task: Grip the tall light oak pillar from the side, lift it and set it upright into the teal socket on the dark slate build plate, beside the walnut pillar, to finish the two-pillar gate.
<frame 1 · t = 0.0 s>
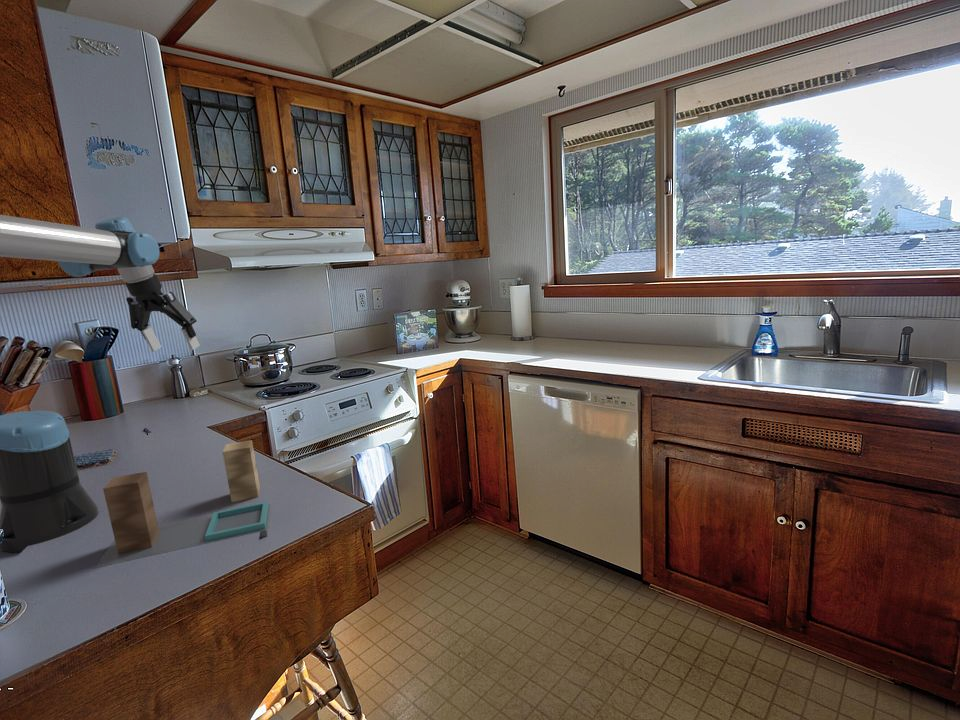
hand: (176, 348, 143), 28 cm above the table, tool tilted 20°, fingers open, 13 cm apart
walnut pillar: (139, 543, 89), resting on build plate
build plate: (192, 539, 91), on the table
woven mat: (92, 464, 138), on the table
chef's knife: (149, 437, 158), on the table
oak pillar: (247, 500, 106), on the table
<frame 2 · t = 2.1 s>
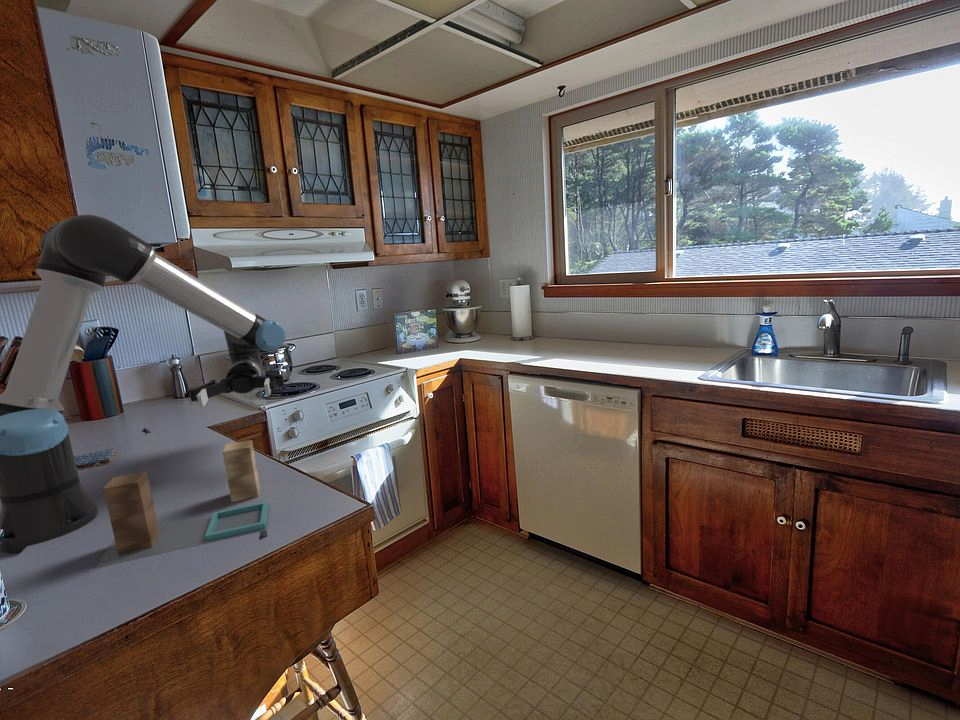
hand: (234, 395, 112), 20 cm above the table, tool horizontal, fingers open, 13 cm apart
nothing on the table moved.
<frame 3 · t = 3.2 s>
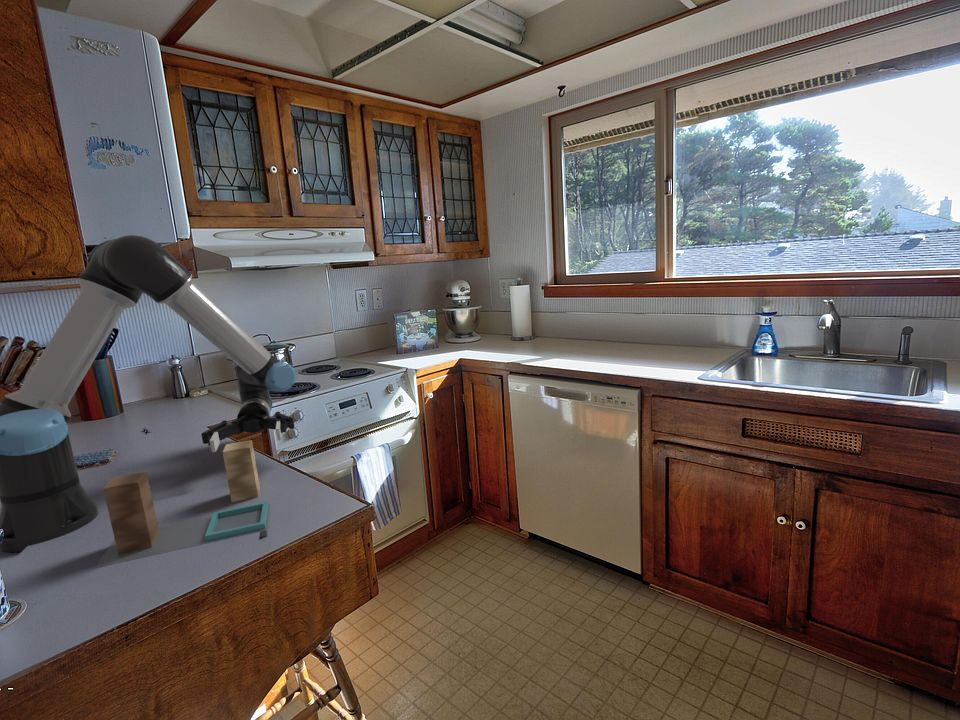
hand: (246, 440, 114), 10 cm above the table, tool horizontal, fingers open, 13 cm apart
nothing on the table moved.
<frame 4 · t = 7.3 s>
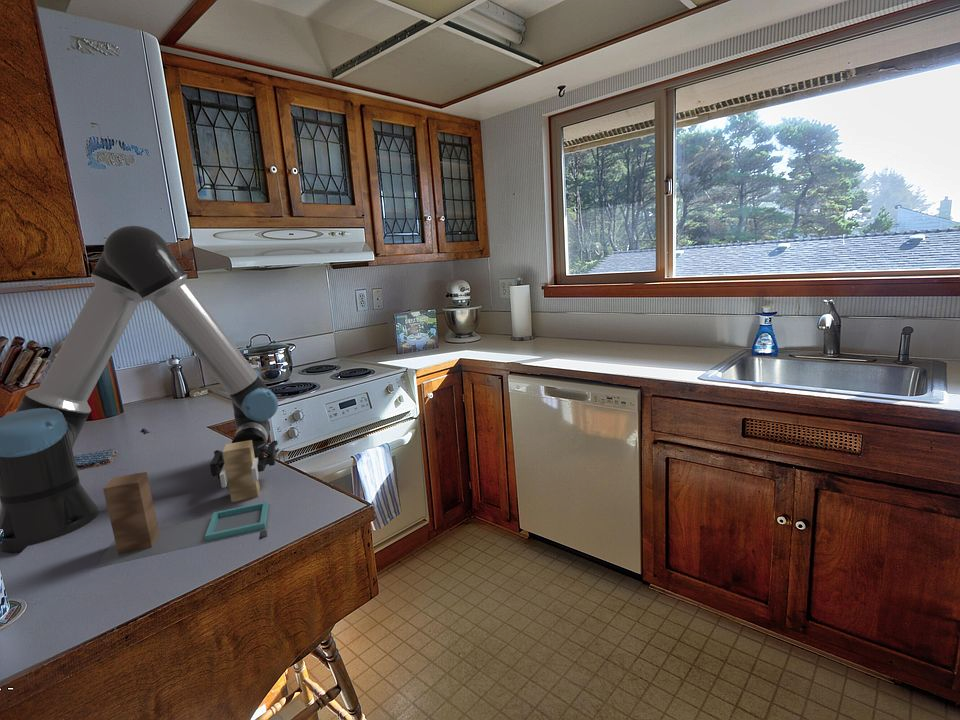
hand: (238, 477, 100), 7 cm above the table, tool horizontal, fingers closed on oak pillar, 5 cm apart
oak pillar: (247, 500, 106), on the table, touching gripper
everything else where it was.
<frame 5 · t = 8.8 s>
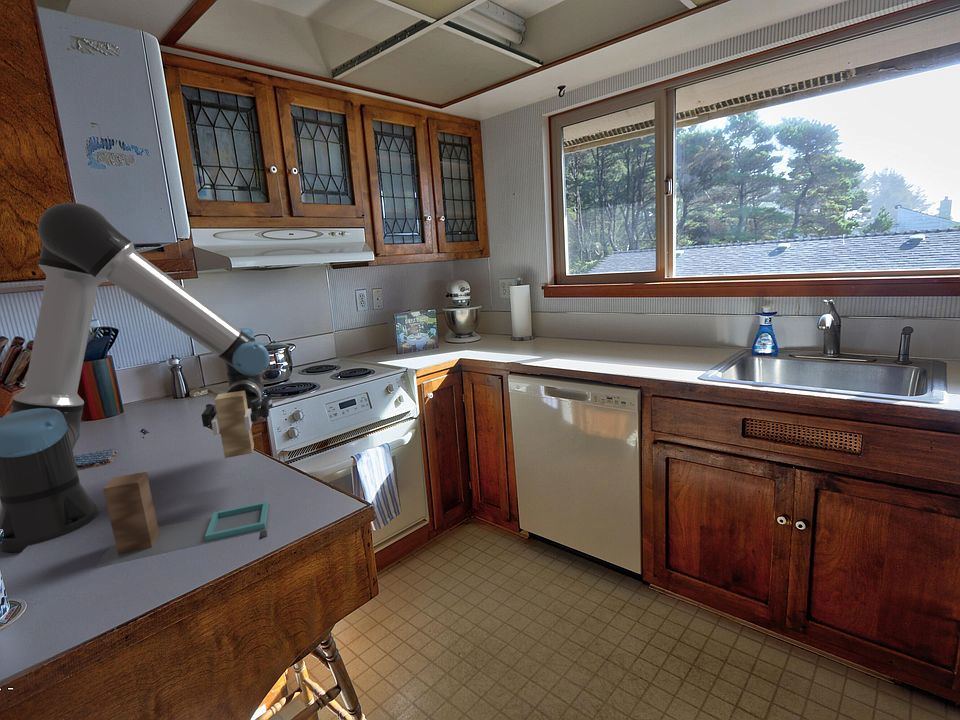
hand: (231, 425, 97), 18 cm above the table, tool horizontal, fingers closed on oak pillar, 5 cm apart
oak pillar: (239, 451, 104), point 11 cm above the table, touching gripper
everything else where it was.
when the fingers open (10 cm above the table, at t = 11.7 s): oak pillar drops 1 cm, resting on build plate.
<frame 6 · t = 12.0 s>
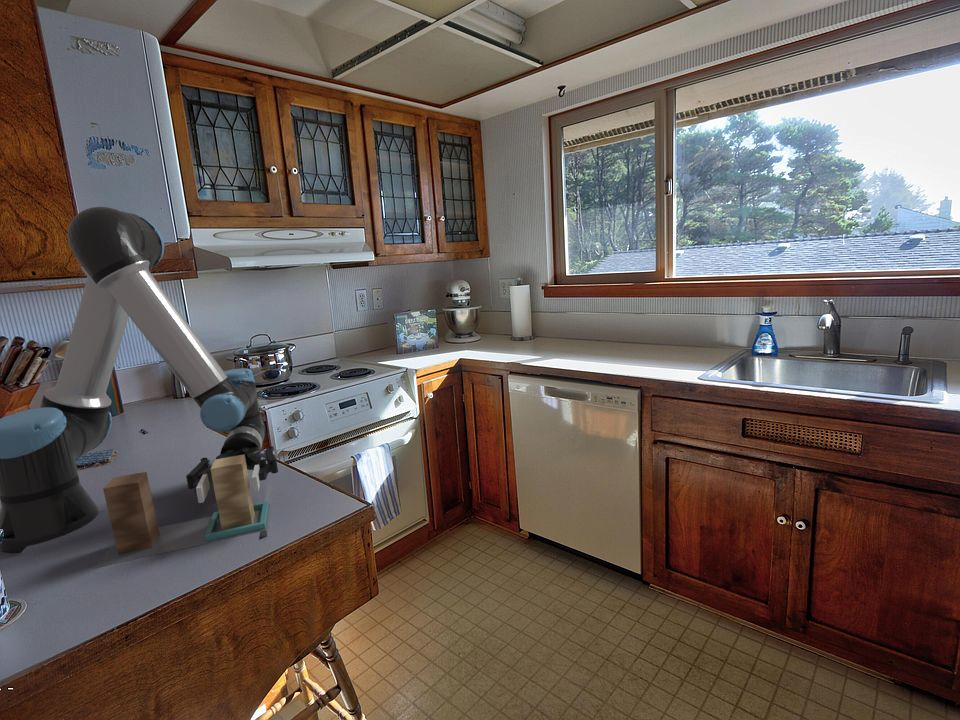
hand: (227, 489, 88), 10 cm above the table, tool horizontal, fingers open, 8 cm apart
oak pillar: (239, 522, 94), point 1 cm above the table, touching build plate
everything else where it was.
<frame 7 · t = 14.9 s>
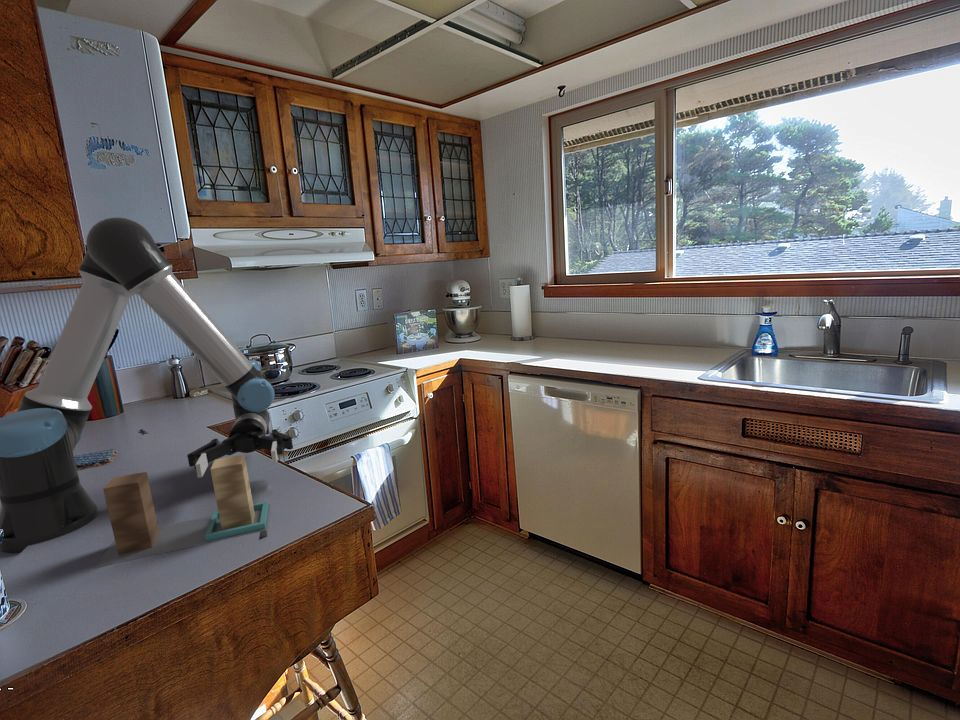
hand: (237, 464, 100), 10 cm above the table, tool horizontal, fingers open, 13 cm apart
nothing on the table moved.
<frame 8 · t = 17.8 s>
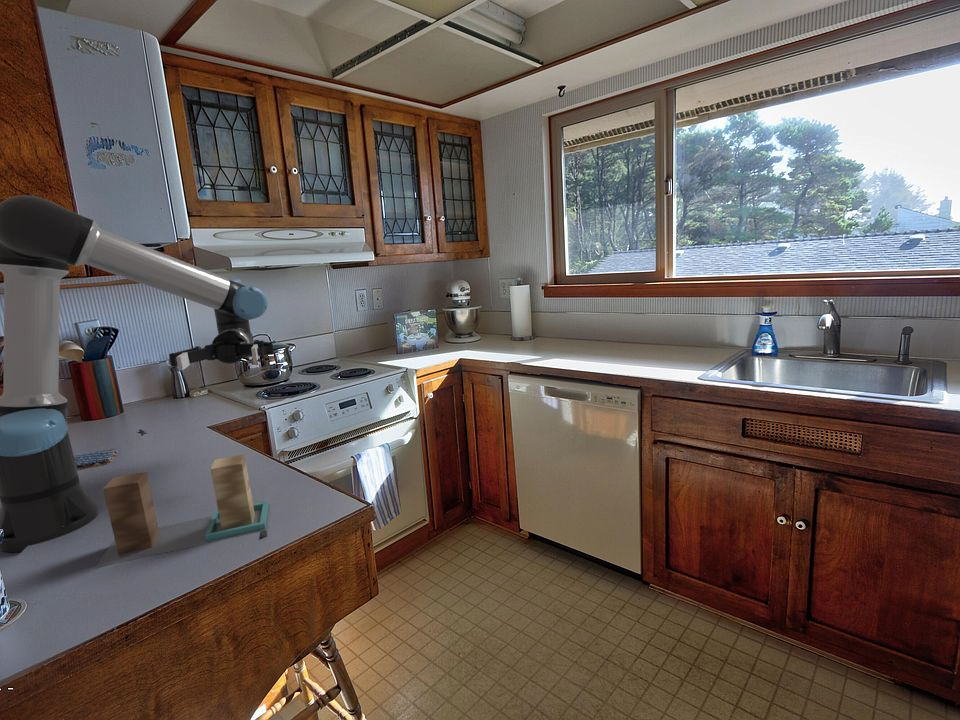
hand: (217, 359, 102), 30 cm above the table, tool horizontal, fingers open, 13 cm apart
at the end: oak pillar 0.0 cm from the target spot, point 1.2 cm above the table; oak pillar tilted 0°; the gripper is holding nothing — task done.
